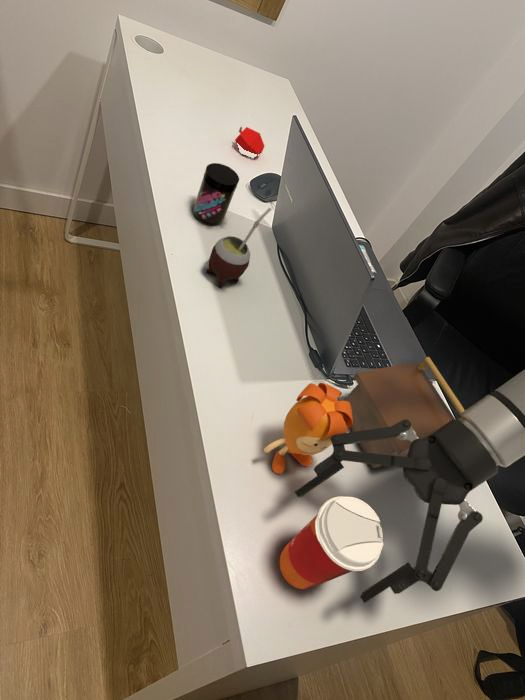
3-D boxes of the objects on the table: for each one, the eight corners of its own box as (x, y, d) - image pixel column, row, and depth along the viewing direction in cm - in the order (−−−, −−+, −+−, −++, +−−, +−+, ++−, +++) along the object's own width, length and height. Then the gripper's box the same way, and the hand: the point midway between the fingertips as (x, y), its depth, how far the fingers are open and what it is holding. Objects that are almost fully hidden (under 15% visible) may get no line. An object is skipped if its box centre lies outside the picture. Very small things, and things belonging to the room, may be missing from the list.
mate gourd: (201, 283, 91) (226, 220, 80) (207, 256, 96) (231, 192, 85) (239, 296, 92) (269, 235, 81) (243, 268, 97) (271, 208, 87)
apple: (275, 139, 123) (252, 113, 121) (263, 153, 120) (240, 127, 117) (259, 154, 129) (237, 130, 126) (248, 168, 125) (225, 144, 122)
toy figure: (261, 485, 70) (306, 437, 59) (243, 436, 74) (281, 382, 63) (328, 468, 76) (379, 421, 65) (307, 423, 80) (352, 372, 69)
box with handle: (430, 456, 85) (476, 423, 77) (370, 476, 78) (413, 442, 70) (389, 388, 92) (427, 351, 83) (330, 401, 85) (366, 361, 76)
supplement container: (187, 205, 103) (200, 162, 95) (216, 205, 107) (231, 163, 99) (199, 227, 100) (213, 184, 93) (228, 226, 104) (244, 185, 96)
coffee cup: (325, 537, 69) (382, 497, 58) (330, 602, 64) (393, 571, 53) (269, 529, 67) (318, 486, 56) (270, 595, 62) (323, 562, 51)
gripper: (550, 536, 56) (395, 636, 58) (411, 365, 65) (282, 456, 67) (568, 545, 49) (392, 657, 51) (410, 352, 58) (266, 454, 60)
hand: (329, 543), depth 59 cm, fingers open, 13 cm apart
